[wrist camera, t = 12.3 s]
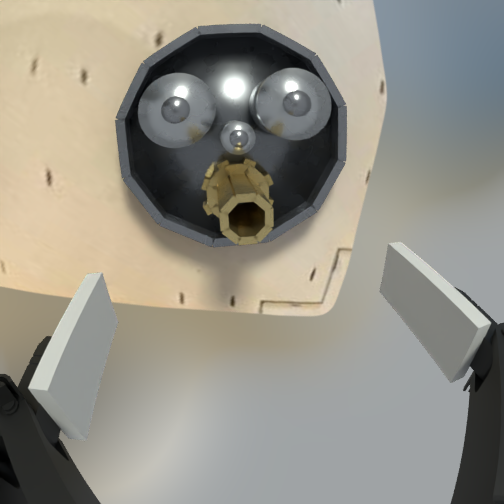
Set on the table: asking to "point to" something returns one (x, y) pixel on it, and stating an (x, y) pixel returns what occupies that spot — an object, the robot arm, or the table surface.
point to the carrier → (230, 126)
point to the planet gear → (240, 200)
